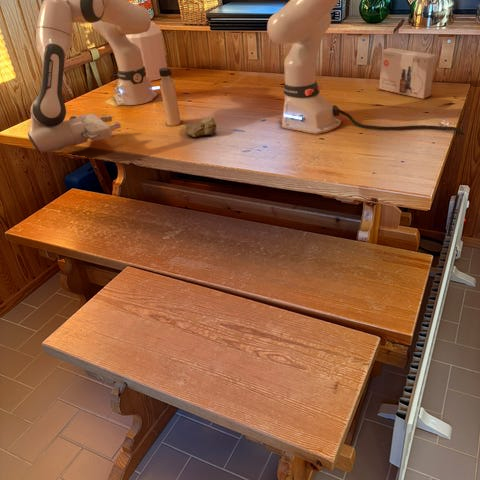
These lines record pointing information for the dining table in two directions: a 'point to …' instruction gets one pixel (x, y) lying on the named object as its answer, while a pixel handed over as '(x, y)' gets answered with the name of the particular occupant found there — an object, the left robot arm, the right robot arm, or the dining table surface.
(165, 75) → the cap
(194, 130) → the rock
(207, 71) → the dining table surface
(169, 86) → the bottle
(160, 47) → the container
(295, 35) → the right robot arm
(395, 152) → the dining table surface
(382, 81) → the skincare box
